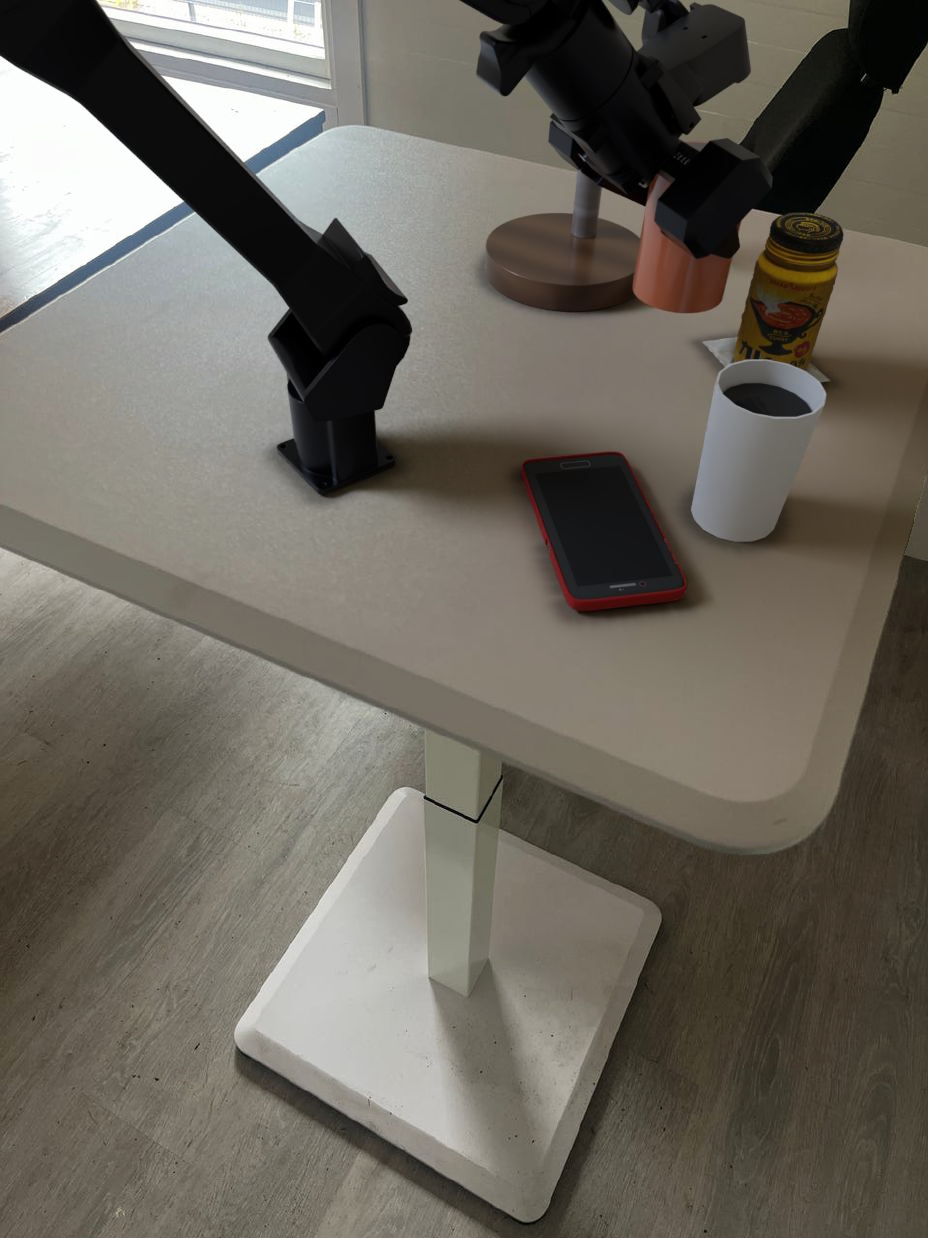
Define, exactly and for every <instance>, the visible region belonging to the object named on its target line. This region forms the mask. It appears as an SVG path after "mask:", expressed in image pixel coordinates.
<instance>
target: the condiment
mask: <svg viewBox="0 0 928 1238" xmlns="http://www.w3.org/2000/svg"><path fill="white" fill-rule="evenodd" d="M843 241H844V230H843V227H842V226H841V225H840V224H839V223H838V222H837V221H836V220H834V218H833V219H832V218H830V217H829V216H825V215H823V214H819V213H818V214H817V213H812V212H809V211H808V212H807V211H806V212H802V211H800V212H799V211H797V212H794V211H793V212H789V213H784V214H782V215H779V216H777V217H776V218H774V220H773V221H772V222H771V224H770V227H769V234H768V237H767V239H766V241H765V244H764V248H765V249H764V250H762V251H761V253H760V254H759V256H758V257H757V259H756V261H755V264H754V268H753V274H752V278H751V279H750V282H749V283H750V285H749V289H748V294H747V296H746V298H745V302H744V310H743V312H742V313H741V317H740V318H741V319H740V320H741V321H740V325H739V329H738V331H737V334H736V335H737V336H734V337H725V338H724V337H723V338H720V339H716V340H715V339H711V340H704V341H701V343H702V344H703V345H704V346H705V347H706V348H707V349H708V351H709V352H710V353H712V354H713V356H714V357H715V358H716V359H717V360H719V361H718V362H720V364H721V365H722V366H723V368H725V367H726V366H728V365H729V364H732V363H736V362H739V361H743V360H766V359H767V360H772V361H777V362H782V363H787V364H790V365H792V366H795V367H797V368H799V369H802V370H804V371H806V372H808V373H809V374H810V375H812V376H813V377H814V378H816V379H817V380H818V381H820V383H826V382H830V381H831V380H830V379H829V378H828V377H827V375H825V374H824V373H822V372H821V371H820V370H819V369H818V368H817V367H816V366H815V365H814V364H812V363H811V360H812V356H813V352H814V349H815V346H816V344H817V340H818V337H819V333H820V330H821V327H822V324H823V320H824V317H825V315H826V313H827V309H828V304H829V301H830V299H831V295H832V294H833V291H834V286H835V284H836V280H837V276H838V264H837V262H836V261H837V259H838V257H839V256H840V249H841V246H842V243H843Z"/></svg>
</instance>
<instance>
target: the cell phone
mask: <svg viewBox="0 0 928 1238" xmlns="http://www.w3.org/2000/svg"><path fill="white" fill-rule="evenodd" d="M520 475H521V480H522V483H523V485H524V489H525V492H526V495H527V498H528V500H529V502H530V505H531V507H532V510H533V513H534V517H535V519H536V522H537V525H538V528H539V530H540V533H541V536H542V539H543V541H544V544H545V545H546V546H547V547H548V550H549V552H548V555H549V559H550V561H551V564H552V566H553V570H554V572H555V575H556V578H557V580H558V583H559V586H560V589H561V592H562V594H563V595H562V596H563V597H564V599H565V601H566V603H567V604H568V606H569V607H570V608H571V609H572V610H574V611H577V612H588V611H599V610H608V609H616V608H625V607H631V606H632V607H633V606H641V605H650V604H659V603H667V602H673V601H677V600H681V599H682V598H684V597H685V596H686V592H687V589H688V584H687V580H686V576H685V575H684V572H683V570H682V567H681V565H680V563H679V561H678V559H677V557H676V555H675V553H674V551H673V549H672V547H671V545H670V543H669V541H668V539H667V537H666V535H665V533H664V531H663V529H662V527H661V525H660V523H659V521H658V519H657V517H656V515H655V513H654V510H653V509H652V507H651V505H650V502H649V501H648V499H647V496H646V494H645V492H644V490H643V488H642V486H641V484H640V482H639V480H638V478H637V476H636V474H635V472H634V470H633V468H632V466H631V464H630V462H629V461H628V459H627V458H626V455H624V454H623V453H622V452H619V451H599V452H587V453H586V452H585V453H576V454H568V455H567V454H565V455H556V456H545V457H536V458H535V457H534V458H528V459H526V460H524V461H522V463H521V465H520Z"/></svg>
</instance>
